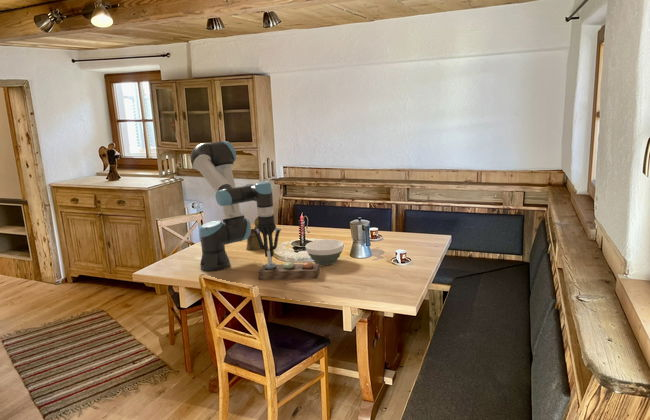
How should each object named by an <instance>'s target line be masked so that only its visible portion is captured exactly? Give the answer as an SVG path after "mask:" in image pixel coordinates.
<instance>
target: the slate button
mask: <svg viewBox="0 0 650 420" xmlns="http://www.w3.org/2000/svg"><path fill="white" fill-rule="evenodd" d="M264 265H265V266H266V269H268V270H274V268H275V267H276V265H277V264H276V263H275V262H272V263H271V264H268V262H267V263H266V264H264Z"/></svg>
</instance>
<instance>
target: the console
mask: <svg viewBox="0 0 650 420" xmlns="http://www.w3.org/2000/svg"><path fill="white" fill-rule="evenodd" d="M284 264H285V263H283V264H276V267H275V268H274V270H268V269H266V266H265V265H266V264H263V265H262V266H261V268H259V270H258V271H257V275H258V276H257V277H258V281H265V280H268V281H269V280H270V281H271V280H272V281H273V280H276V281H277V280H317V279H318V278H319V276H320V273H321V265H320V264H316V263H313V267H311V269H305V268H303V263H294V267H293V269H286V268H284Z"/></svg>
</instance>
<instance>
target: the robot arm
mask: <svg viewBox="0 0 650 420" xmlns="http://www.w3.org/2000/svg"><path fill="white" fill-rule="evenodd" d="M189 157H190V158H189V159H190V163H191V165H192V168H194V169H195V170H196V171H198V172H199V173H200V174H201V175H202V177H203V178H204V179H205V180H206V181H207V183H208V184H209V186H211V188H212V189H213V190H214V191H215V201H216V203H217V205H218V206H220V207H222V210H223V214H224V216H223V217H222V221H221V220H213V221H208V222H205V223H203V224H202V225H200V227H199V238H200V245H201V246H200V247H201V253H202V254H201V257H200V264H199V265H200V270H202V271H204V272H214V271H216V272H217V271H220V270H223V269H227V268H228V267H230V265H231V260H230V259H229V256H228V254H227V252H226V247H225V245H229V244H234V243H238V242H243V241H247V239H248V238H249V236H250V233H251V229H252V226H251V222H250V219H249V218H247V217H245V214H243V213H242V212H241V208H240V204H242V203H248V202H252V201H253V202H256V209H257V217H258V223H259V226H258V228H257V229H255V228H254V229H255V230H254V233H255V235H256V237H257V240H258V242H259V245H260V248H261V249H260V250H262V251H264V257H265V258H267V263H268V264H271V263H273V257H274V255H275V254H274V251H275V250H276V249H277V247H278V242H279V238H280V236H279V235H280V232H281V230H282V229H281V228H278V227H277V225H276V224H275V215H274V213H275V211H274V201H273V200H274V199H273V188H272V184H271V182H270V181H259V182H256V183H255V184H253V183H249V184H245V185H244V186H243V185H242V186H238V187H237V186H236V183H235V179H234V178H235V177H234V175H233V167H234V166H235V164H234V162H236V160H237V152H236V149H235V147H234V145H233V144H232V143H231V142H230V141H227V140H226V141H223V140H222V141H213V142H203V143H199V144H197V145H196V146H194V148H193V149H192V150H191V153H190V156H189ZM259 230H260V231H259ZM274 231H275V236H274V238H273V233H274ZM259 232H260V233H259ZM261 234H262V236H261ZM262 238H263V239H262ZM273 241H274V242H273Z"/></svg>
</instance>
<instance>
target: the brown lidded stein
mask: <svg viewBox="0 0 650 420" xmlns="http://www.w3.org/2000/svg"><path fill="white" fill-rule="evenodd" d="M254 219H255V220H254V225H255V226H254V228H251V233H250V236H249V238H248V239H246V250H247V251H258V250H261V248H260V245H259V242H258V240H257V237H256V235H255V233H254V230H255V229H257V228H258V226H259V223H258V216H257V217H256V218H254ZM259 231H260V230H259ZM259 233H260V234H261V232H259Z"/></svg>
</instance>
